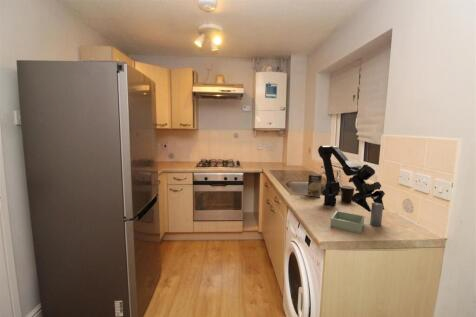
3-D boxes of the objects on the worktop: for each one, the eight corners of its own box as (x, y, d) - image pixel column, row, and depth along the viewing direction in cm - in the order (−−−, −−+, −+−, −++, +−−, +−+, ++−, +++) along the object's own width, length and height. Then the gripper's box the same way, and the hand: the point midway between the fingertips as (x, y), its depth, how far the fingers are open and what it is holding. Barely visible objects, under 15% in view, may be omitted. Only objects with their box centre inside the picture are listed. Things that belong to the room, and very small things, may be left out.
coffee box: (307, 196, 169) (308, 174, 167) (307, 194, 175) (308, 173, 173) (320, 197, 166) (321, 175, 164) (320, 195, 172) (321, 174, 170)
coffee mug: (352, 204, 153) (353, 189, 152) (338, 201, 158) (339, 187, 157) (354, 199, 163) (355, 185, 162) (341, 197, 168) (342, 184, 166)
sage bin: (330, 226, 117) (331, 218, 116) (335, 218, 128) (336, 210, 127) (360, 233, 109) (361, 224, 109) (363, 224, 121) (364, 215, 120)
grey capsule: (369, 224, 120) (371, 204, 118) (370, 221, 124) (372, 201, 122) (381, 227, 117) (383, 206, 116) (381, 224, 121) (383, 203, 120)
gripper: (357, 177, 119) (374, 205, 110) (383, 175, 126) (401, 201, 117) (344, 189, 127) (359, 215, 118) (369, 186, 134) (385, 211, 125)
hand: (377, 210), depth 119 cm, fingers open, 9 cm apart
